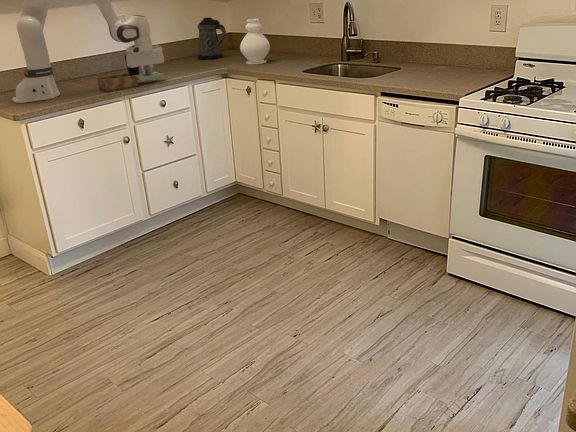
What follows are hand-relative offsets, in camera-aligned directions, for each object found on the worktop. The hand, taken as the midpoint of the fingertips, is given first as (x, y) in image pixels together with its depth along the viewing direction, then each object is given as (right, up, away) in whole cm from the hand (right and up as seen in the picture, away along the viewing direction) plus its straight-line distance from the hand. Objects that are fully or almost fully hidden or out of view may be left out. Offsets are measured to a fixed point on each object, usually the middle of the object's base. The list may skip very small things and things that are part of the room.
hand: (147, 73), depth 316 cm
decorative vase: (+55, +17, +45) cm, 73 cm away
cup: (-12, +3, +21) cm, 25 cm away
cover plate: (0, -2, +1) cm, 2 cm away
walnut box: (-13, -9, -7) cm, 18 cm away
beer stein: (+25, +27, +71) cm, 80 cm away
